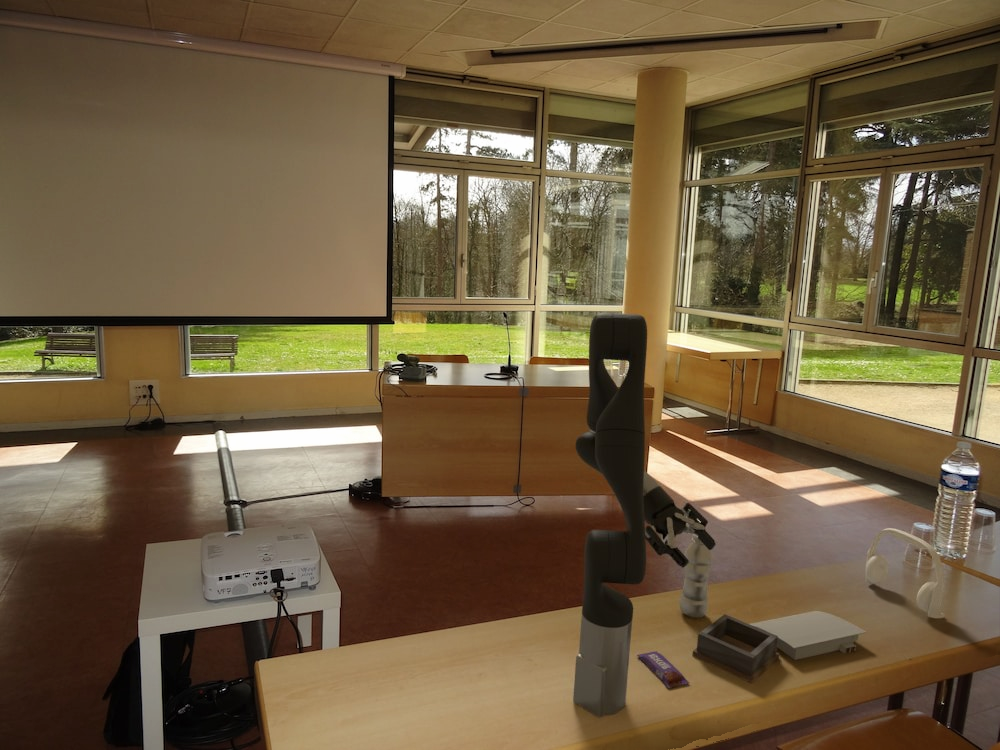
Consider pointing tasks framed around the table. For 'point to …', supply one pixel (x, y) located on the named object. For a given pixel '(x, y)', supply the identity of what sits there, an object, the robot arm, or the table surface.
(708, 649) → the open square tray
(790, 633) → the white router
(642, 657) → the snack package
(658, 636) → the table surface
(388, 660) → the table surface
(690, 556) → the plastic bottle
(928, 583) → the headset
